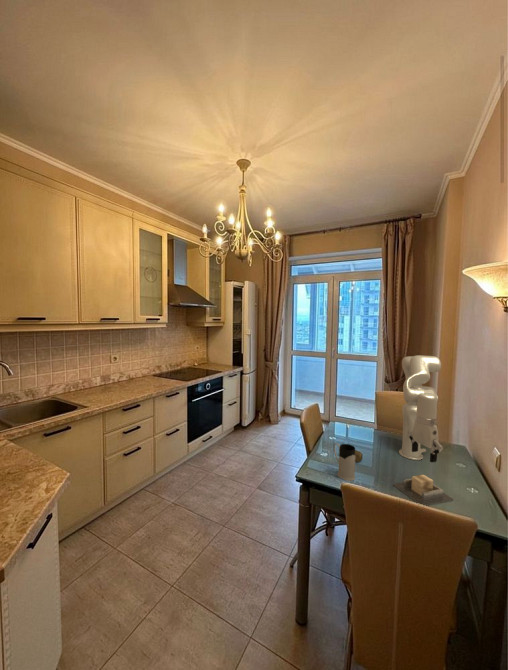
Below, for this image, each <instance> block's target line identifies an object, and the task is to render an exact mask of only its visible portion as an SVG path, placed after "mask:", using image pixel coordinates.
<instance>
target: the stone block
mask: <svg viewBox="0 0 508 670" xmlns="http://www.w3.org/2000/svg"><path fill="white" fill-rule="evenodd" d="M362 461H363V453H362V452H361V451H360V450H356V449H355V463H360V462H362Z"/></svg>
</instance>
